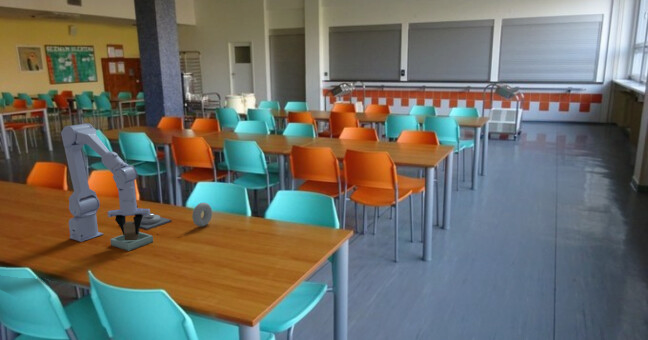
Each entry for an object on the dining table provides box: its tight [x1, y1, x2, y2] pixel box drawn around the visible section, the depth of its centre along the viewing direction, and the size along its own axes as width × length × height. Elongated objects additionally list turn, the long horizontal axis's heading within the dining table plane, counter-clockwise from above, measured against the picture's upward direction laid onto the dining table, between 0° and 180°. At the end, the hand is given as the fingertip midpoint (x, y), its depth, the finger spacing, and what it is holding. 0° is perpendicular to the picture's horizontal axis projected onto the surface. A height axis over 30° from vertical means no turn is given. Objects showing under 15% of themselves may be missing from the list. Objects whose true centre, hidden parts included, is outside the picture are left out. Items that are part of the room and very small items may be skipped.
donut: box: [192, 202, 213, 227], centre depth 198 cm, size 10×3×10 cm, turn 151°
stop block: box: [123, 220, 139, 241], centre depth 180 cm, size 4×4×6 cm
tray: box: [109, 231, 154, 252], centre depth 181 cm, size 11×11×2 cm
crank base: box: [139, 214, 172, 230], centre depth 204 cm, size 12×12×2 cm
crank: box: [137, 205, 155, 218], centre depth 204 cm, size 11×3×4 cm, turn 67°
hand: (131, 234), depth 180 cm, fingers closed on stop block, 4 cm apart
